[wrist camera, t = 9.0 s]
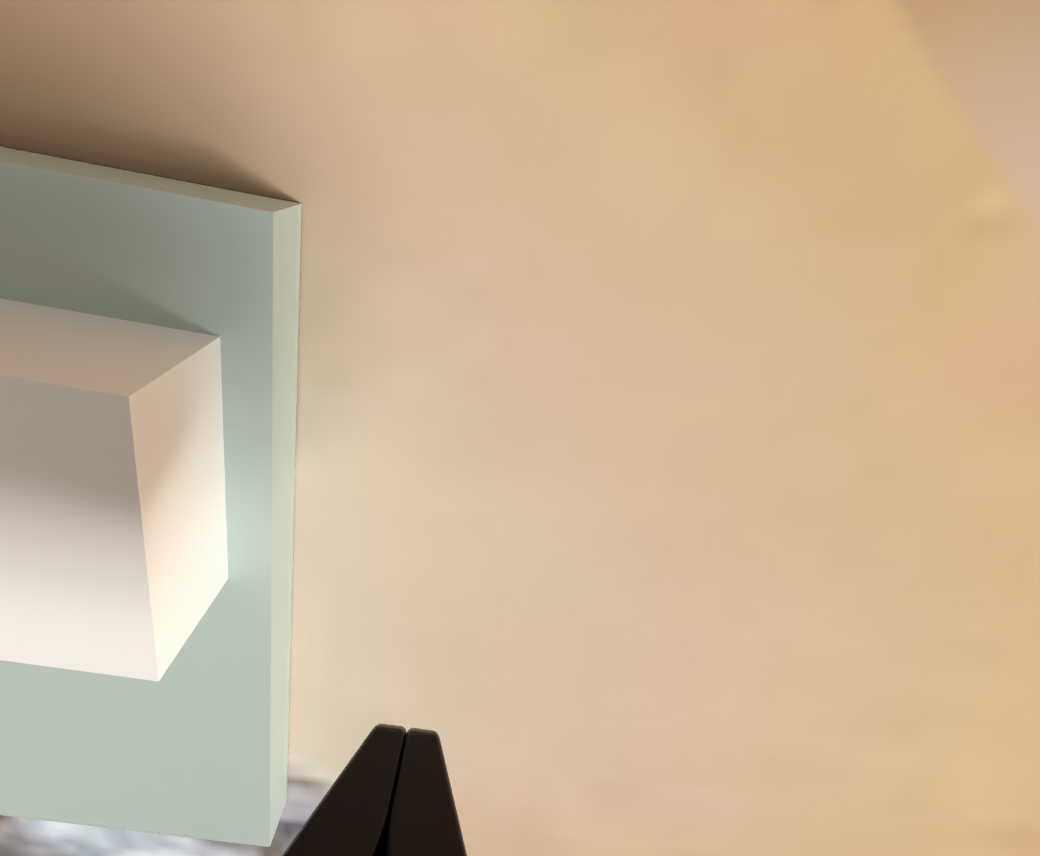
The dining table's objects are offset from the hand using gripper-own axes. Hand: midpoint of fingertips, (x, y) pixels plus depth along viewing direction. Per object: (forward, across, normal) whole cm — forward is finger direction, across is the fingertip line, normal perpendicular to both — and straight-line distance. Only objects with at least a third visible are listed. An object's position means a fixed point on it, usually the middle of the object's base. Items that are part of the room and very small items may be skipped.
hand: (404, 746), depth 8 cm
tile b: (+6, +8, 0) cm, 10 cm away
